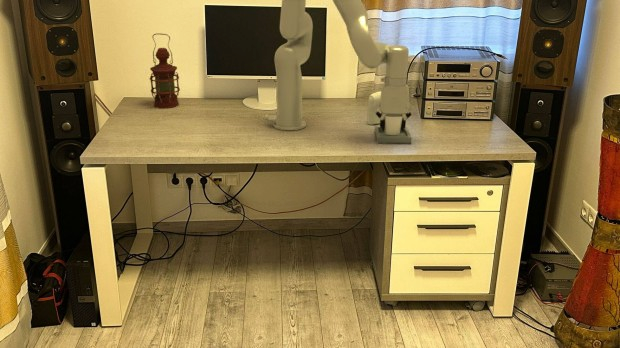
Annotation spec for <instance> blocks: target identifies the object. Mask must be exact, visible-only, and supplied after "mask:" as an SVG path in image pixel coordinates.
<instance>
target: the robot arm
mask: <svg viewBox="0 0 620 348" xmlns="http://www.w3.org/2000/svg"><path fill="white" fill-rule="evenodd" d="M332 1H333V4H334V5H335V8H336V10H337V11H338V12H339V14H340V16H341V18H342V20H343V22H344V24H345V27H346V30H347V34H348V37H349V40H350V44H351V46H352V48H353V50H354V52H355V54H356V56H357V57H358V59H359V61H360V62H361V64H362V65H363V66H364V67H366V68H368V69H371V70H372V69H376V68H378V67H380V66H381V65H384V64H385V73H384V76H383V77H381V78H380V82H381V83H382V82H383V84H382V87H381V90H380V91H381V97H380V102H378V103H377V104H376V105H375V106H374V107H373V108H372V111H373V112H374V113H375V114H376V115H377V116H378V117H379V118H380V123H379V127H380V128H381V129H382V131H384V126H385V120H384V117H385V115H386V114H402V116H403V118H402V124H401V131H404V128H405V127H407V126H406V123H407V120H408V119H409V118H410V117H411V116H412V115H413V114H414V113H415V112H416V111H417V110H416V108H415V107H414V106H413V105H412V104H411V103H410V90H409V89H410V88H409V85H408V84H407V79H408V77H407V76H408V66H409V65H408V63H409V52H410V51H409V48H408V47H407V46H404V45H401V44H400V45H398V44H395V45H392V44H387V43H384V42H375V41H374V40H373V38H372V35H371V33H370V30H369V25H368V23H369V16H368V15H369V14H368V11H367V8H365V6H364V3H363V2H362V0H332ZM306 4H307V3H306V0H281V9H280V17H279V18H280V19H279V32H280V34H281V36H282V38H284V39H285V40H287V42H286V43H284V44H282V45H280V46H279V47H278V48H277V49H276V51H275V53H274V66H275V72H276V74H275V75H276V76H275V77H276V113H275V114H265V115H264V116H265V121H268V122H273V123H272V126H273V128H275V129H277V130H282V131H299V130H302V129H304V128H305V127H306V126H307V123H306V121H305V120H303V75H302V70H301V65H303V64H305V63H306V62H307V61H308V59H309V58H310V56H311V55H310V54H311V51H312V42H313V41H312V40H313V28H314V27H313V23H314V22H313V20H312V17H311V16H310V14H309V12H306ZM379 107H380V111H381V114H380V113H379V112H378V111H377V109H378V108H379Z"/></svg>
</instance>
